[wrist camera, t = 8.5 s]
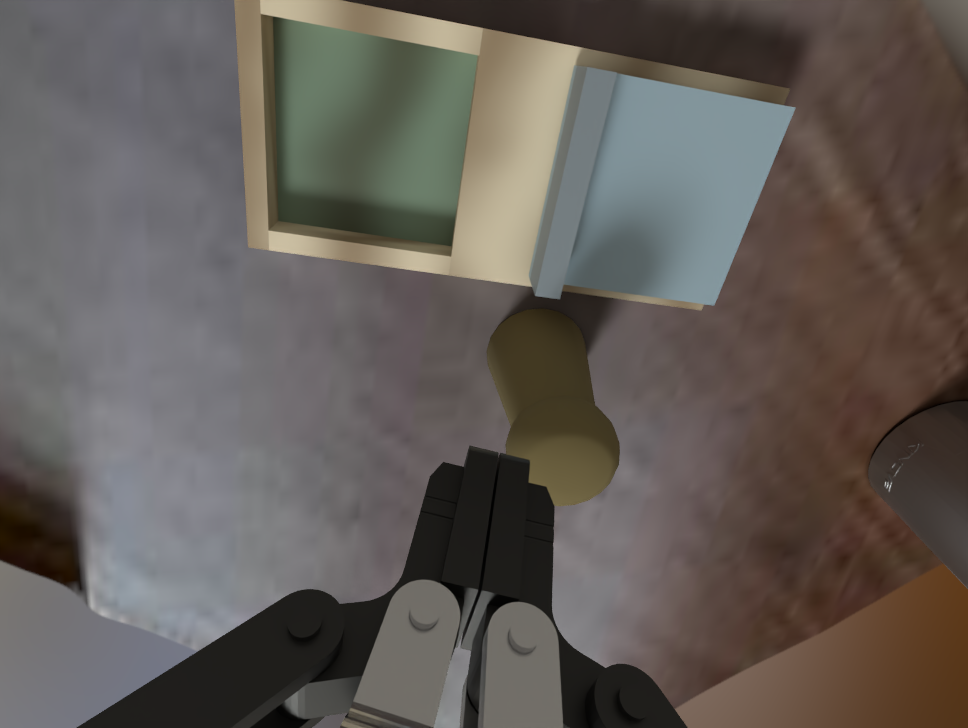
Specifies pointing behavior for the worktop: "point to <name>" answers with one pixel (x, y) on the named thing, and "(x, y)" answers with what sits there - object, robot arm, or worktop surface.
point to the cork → (552, 405)
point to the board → (412, 135)
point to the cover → (651, 187)
